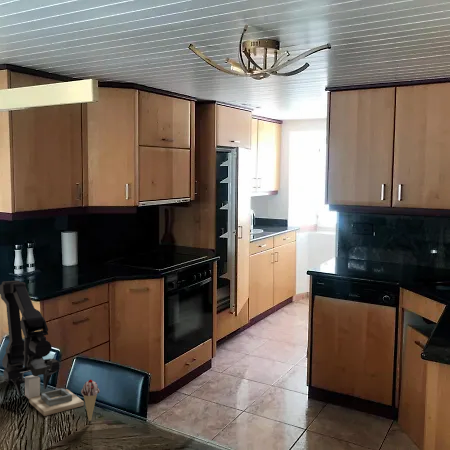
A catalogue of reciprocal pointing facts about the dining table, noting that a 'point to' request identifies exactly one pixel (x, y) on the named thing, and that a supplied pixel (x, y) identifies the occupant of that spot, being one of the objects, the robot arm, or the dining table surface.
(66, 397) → the socket holder
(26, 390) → the connector plug
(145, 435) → the dining table surface
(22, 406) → the dining table surface
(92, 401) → the ice cream cone
